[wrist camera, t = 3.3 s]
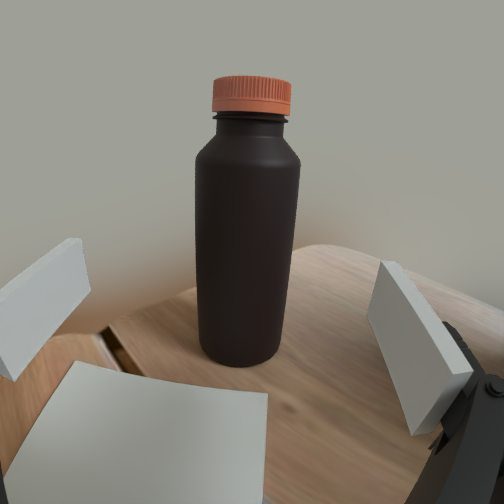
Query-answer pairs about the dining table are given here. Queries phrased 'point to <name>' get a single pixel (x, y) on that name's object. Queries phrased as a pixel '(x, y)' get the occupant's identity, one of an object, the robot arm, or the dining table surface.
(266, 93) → the vinegar
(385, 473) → the dining table surface
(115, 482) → the mat
